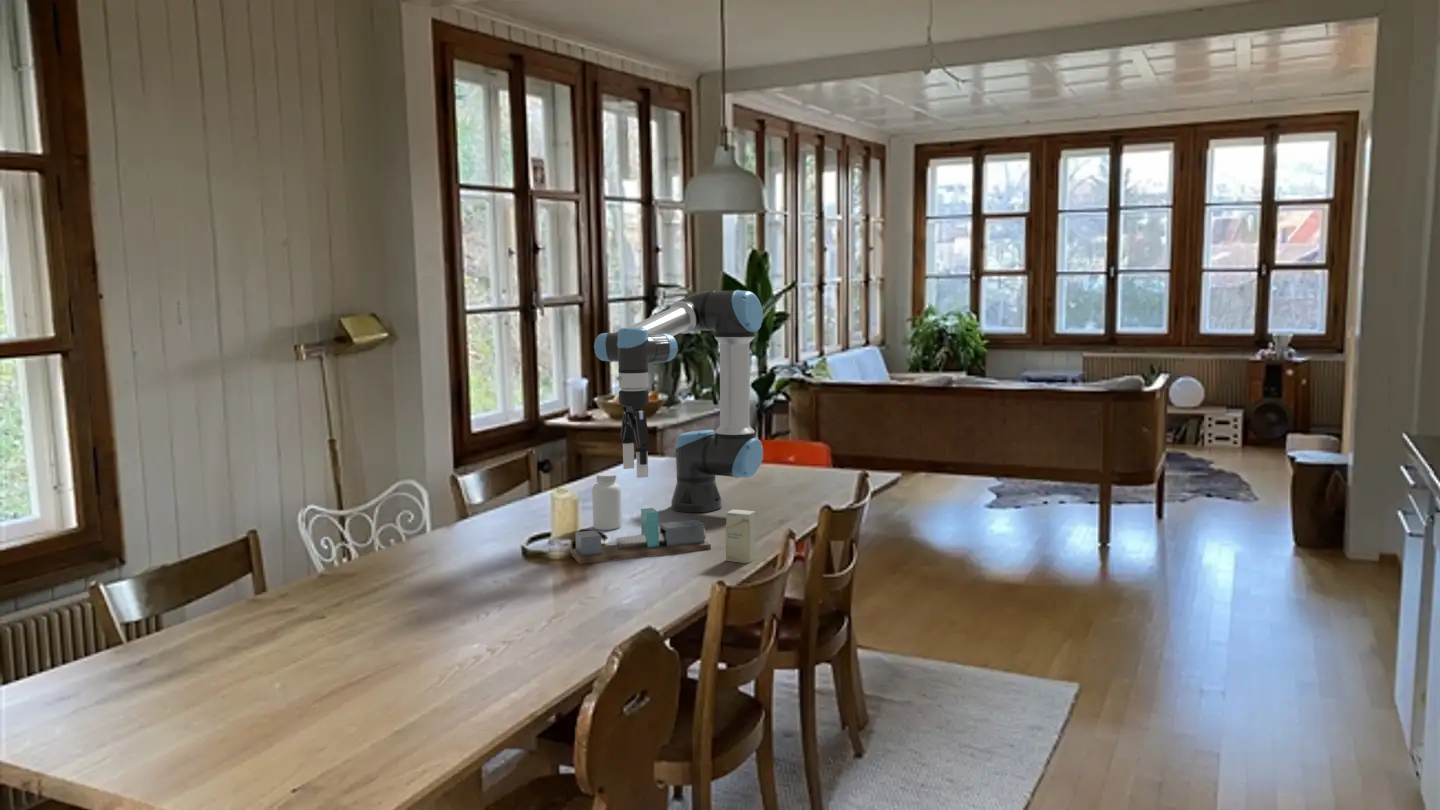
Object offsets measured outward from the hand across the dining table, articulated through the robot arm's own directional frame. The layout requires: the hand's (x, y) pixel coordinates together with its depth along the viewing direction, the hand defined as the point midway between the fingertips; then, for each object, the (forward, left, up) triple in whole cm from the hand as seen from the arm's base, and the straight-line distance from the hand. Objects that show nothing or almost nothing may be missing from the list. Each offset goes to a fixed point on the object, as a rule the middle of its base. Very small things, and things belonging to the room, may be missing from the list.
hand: (635, 472), depth 263 cm
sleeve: (-11, +3, -19) cm, 22 cm away
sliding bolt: (-6, +3, -18) cm, 19 cm away
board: (0, +3, -20) cm, 20 cm away
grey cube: (+13, +3, -19) cm, 23 cm away
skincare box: (-20, +21, -20) cm, 35 cm away
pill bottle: (+1, -26, -20) cm, 33 cm away
